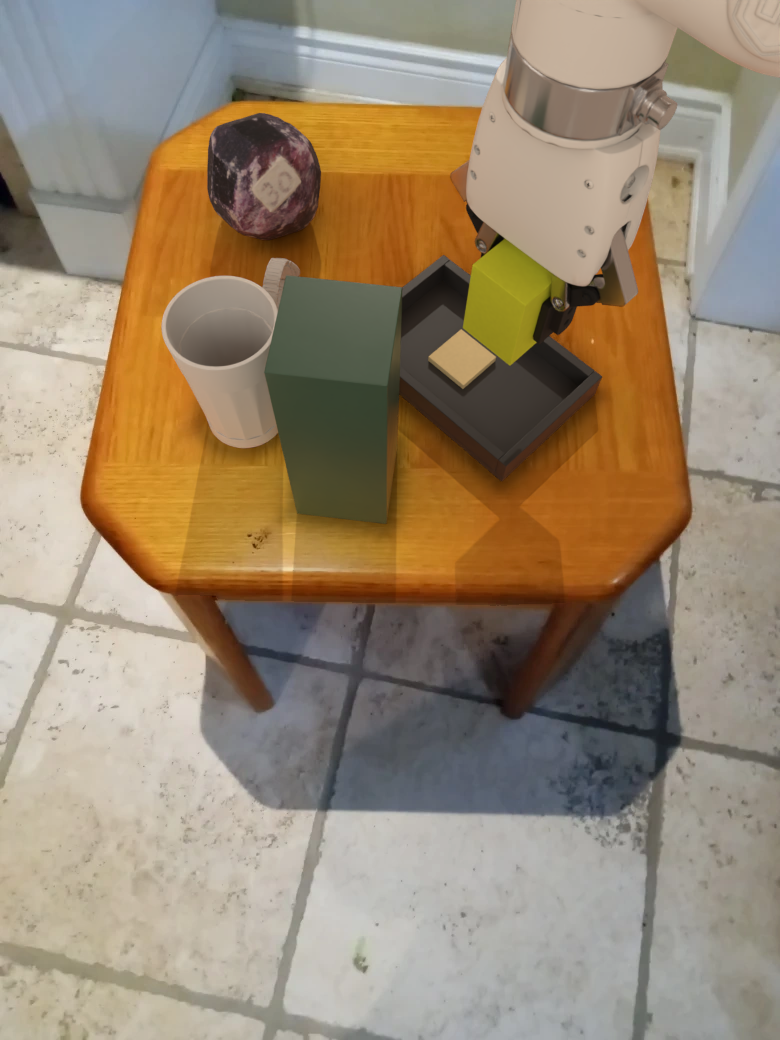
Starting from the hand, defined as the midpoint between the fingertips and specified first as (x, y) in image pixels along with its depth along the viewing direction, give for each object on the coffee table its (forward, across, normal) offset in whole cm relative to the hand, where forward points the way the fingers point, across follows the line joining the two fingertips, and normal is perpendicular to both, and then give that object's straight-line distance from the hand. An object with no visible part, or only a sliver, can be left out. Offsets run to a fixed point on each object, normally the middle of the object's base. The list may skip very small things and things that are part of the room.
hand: (521, 306), depth 57 cm
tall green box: (+12, +3, +14) cm, 19 cm away
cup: (+12, +13, +16) cm, 24 cm away
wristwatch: (+12, +19, +7) cm, 24 cm away
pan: (+12, +3, 0) cm, 12 cm away
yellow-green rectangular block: (+1, 0, 0) cm, 1 cm away
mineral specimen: (+12, +28, 0) cm, 30 cm away
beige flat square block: (+11, +4, 0) cm, 12 cm away
